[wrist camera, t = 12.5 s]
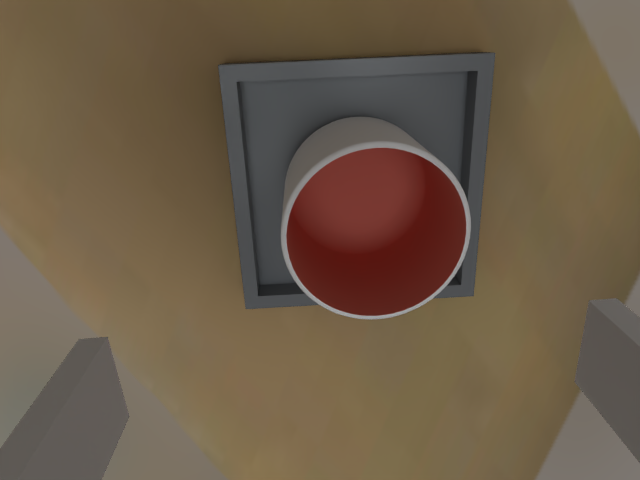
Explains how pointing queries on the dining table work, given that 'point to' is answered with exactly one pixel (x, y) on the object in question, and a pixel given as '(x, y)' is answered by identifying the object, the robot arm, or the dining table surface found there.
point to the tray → (334, 104)
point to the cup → (371, 220)
